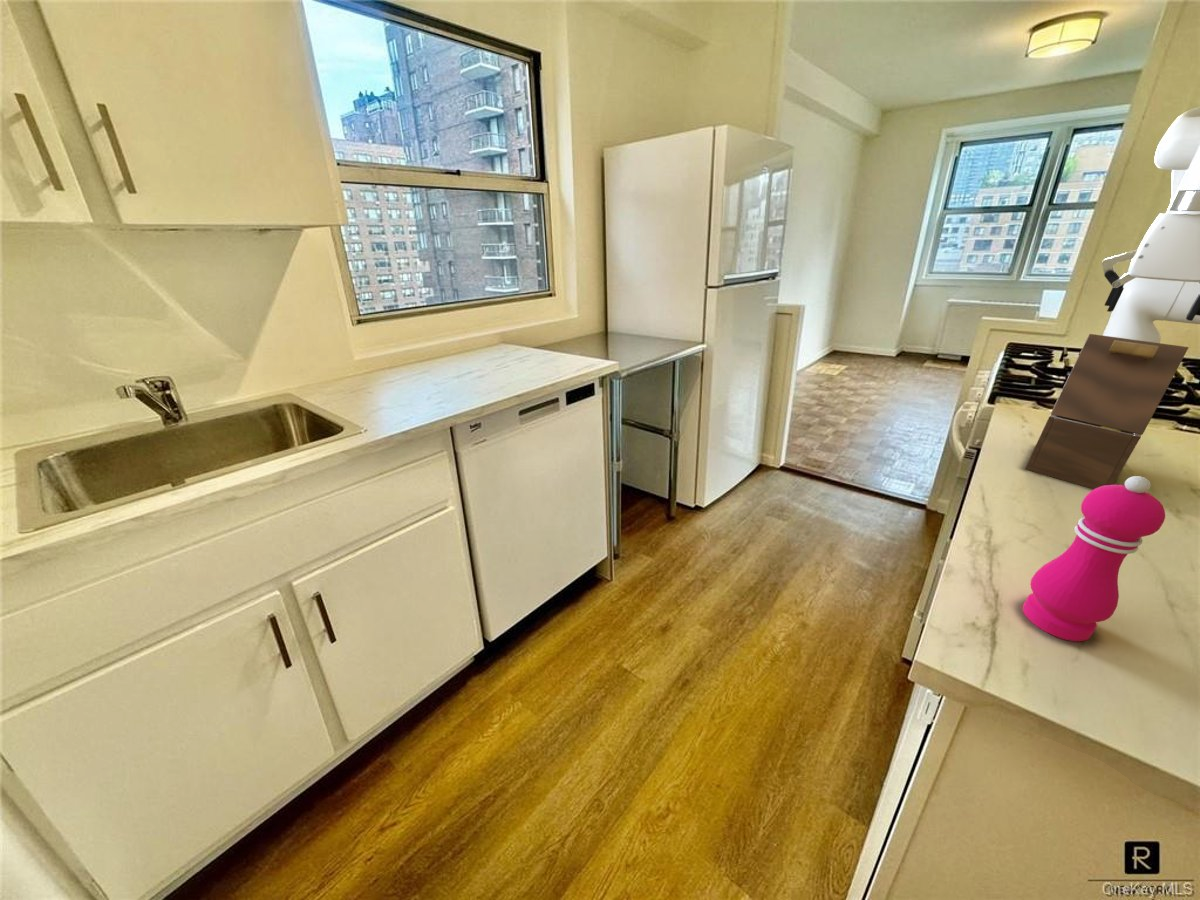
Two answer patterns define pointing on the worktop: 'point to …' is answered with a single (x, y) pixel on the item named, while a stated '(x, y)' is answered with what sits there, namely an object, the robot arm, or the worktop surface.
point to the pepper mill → (1093, 560)
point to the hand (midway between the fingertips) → (1148, 314)
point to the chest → (1081, 452)
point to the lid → (1118, 382)
